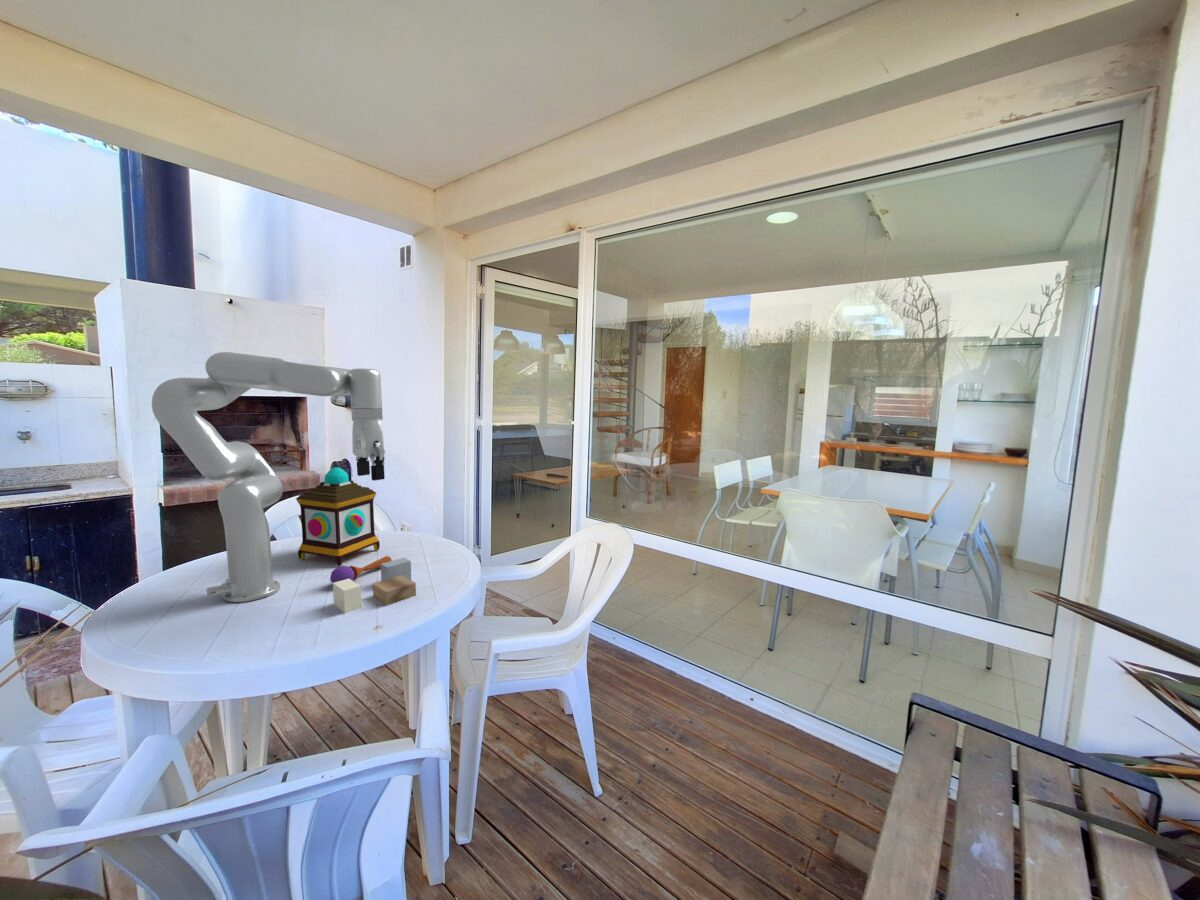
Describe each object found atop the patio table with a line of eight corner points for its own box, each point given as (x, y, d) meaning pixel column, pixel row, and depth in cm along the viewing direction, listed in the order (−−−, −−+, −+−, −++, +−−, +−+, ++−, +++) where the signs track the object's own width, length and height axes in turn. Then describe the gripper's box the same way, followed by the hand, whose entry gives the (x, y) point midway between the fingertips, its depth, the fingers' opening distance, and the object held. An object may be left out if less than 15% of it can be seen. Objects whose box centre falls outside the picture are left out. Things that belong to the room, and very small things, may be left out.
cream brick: (361, 608, 121) (360, 585, 121) (345, 613, 118) (343, 590, 118) (350, 600, 126) (348, 578, 125) (333, 605, 123) (332, 583, 122)
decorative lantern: (342, 542, 172) (338, 461, 168) (386, 549, 165) (383, 465, 162) (291, 561, 153) (285, 469, 149) (338, 569, 147) (333, 474, 143)
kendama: (396, 555, 149) (343, 572, 130) (393, 572, 150) (339, 592, 131) (382, 549, 151) (327, 565, 132) (378, 566, 152) (323, 585, 133)
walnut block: (386, 606, 123) (386, 592, 123) (373, 597, 128) (372, 583, 128) (415, 597, 129) (415, 583, 129) (401, 588, 134) (401, 575, 134)
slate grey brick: (388, 587, 134) (387, 567, 133) (381, 583, 137) (380, 563, 136) (411, 580, 140) (410, 560, 139) (404, 576, 142) (404, 557, 141)
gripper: (340, 414, 130) (344, 475, 132) (365, 416, 119) (369, 483, 121) (368, 413, 136) (372, 471, 138) (395, 415, 124) (398, 479, 126)
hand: (370, 477), depth 129 cm, fingers open, 9 cm apart
